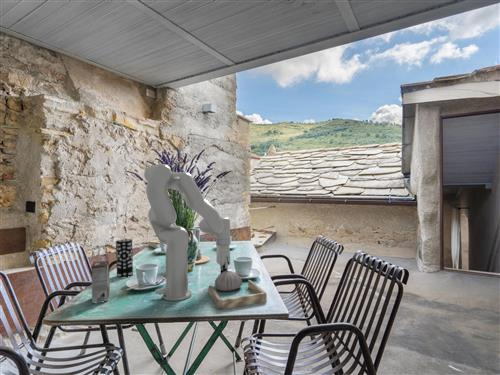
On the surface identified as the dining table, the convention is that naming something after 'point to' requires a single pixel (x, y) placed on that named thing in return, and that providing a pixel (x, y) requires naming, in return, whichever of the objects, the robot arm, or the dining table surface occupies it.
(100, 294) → the coffee box
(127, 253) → the white-spotted black cylinder
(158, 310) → the dining table surface
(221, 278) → the sea urchin shell
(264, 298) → the box
